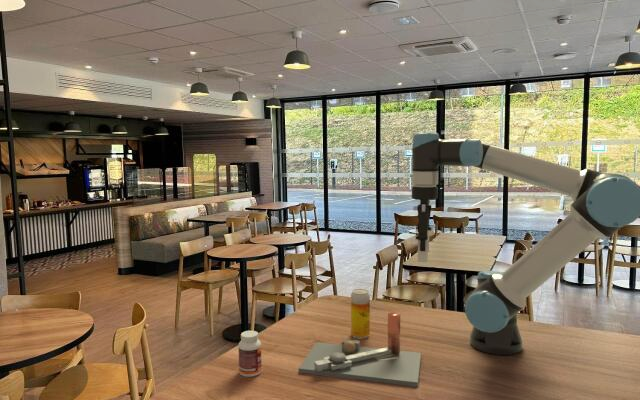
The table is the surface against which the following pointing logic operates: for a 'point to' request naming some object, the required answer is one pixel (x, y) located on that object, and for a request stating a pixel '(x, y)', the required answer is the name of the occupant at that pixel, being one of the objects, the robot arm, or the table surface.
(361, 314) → the beer can
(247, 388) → the table surface
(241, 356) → the pill bottle
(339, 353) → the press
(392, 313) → the lever
